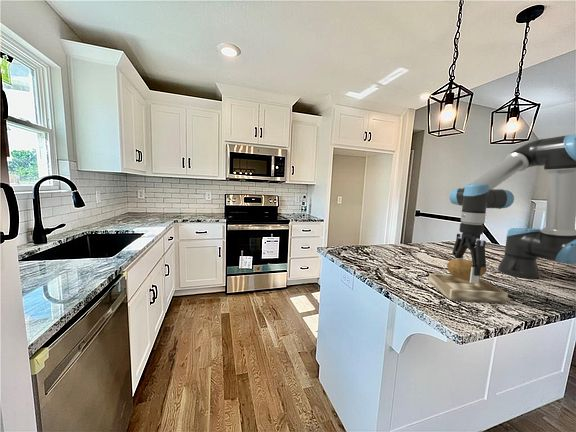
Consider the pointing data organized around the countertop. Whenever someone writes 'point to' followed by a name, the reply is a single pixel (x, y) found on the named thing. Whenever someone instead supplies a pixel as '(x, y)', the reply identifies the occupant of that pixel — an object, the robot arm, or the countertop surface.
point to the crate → (467, 289)
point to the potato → (462, 268)
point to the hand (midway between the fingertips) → (465, 278)
